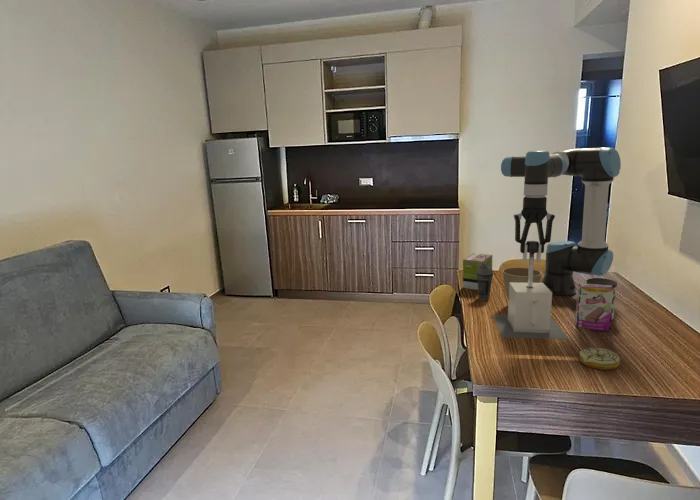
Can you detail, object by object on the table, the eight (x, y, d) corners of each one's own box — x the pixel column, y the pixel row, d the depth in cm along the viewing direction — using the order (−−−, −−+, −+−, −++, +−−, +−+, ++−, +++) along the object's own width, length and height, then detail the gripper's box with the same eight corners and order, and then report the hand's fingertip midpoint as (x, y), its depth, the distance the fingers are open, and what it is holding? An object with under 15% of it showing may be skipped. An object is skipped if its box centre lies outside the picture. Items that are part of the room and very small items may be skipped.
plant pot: (546, 312, 175) (549, 274, 172) (512, 316, 173) (514, 277, 169) (526, 301, 190) (528, 265, 186) (494, 303, 187) (496, 268, 184)
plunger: (539, 301, 162) (543, 239, 157) (546, 310, 153) (550, 244, 148) (512, 300, 164) (515, 239, 159) (518, 309, 155) (521, 244, 149)
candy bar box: (576, 329, 158) (579, 286, 155) (574, 324, 163) (577, 282, 159) (611, 332, 154) (615, 288, 151) (607, 327, 159) (612, 284, 156)
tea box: (473, 280, 223) (473, 252, 220) (492, 283, 217) (493, 254, 214) (462, 288, 211) (462, 258, 208) (482, 291, 205) (483, 261, 202)
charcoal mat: (550, 318, 169) (550, 315, 169) (569, 342, 148) (569, 339, 148) (492, 316, 173) (492, 314, 172) (502, 339, 152) (502, 337, 151)
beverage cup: (490, 295, 198) (491, 253, 194) (494, 301, 191) (495, 257, 187) (474, 295, 199) (475, 253, 194) (477, 301, 192) (478, 257, 187)
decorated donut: (576, 354, 139) (577, 343, 139) (614, 358, 136) (615, 347, 135) (581, 369, 130) (582, 357, 129) (622, 374, 126) (624, 362, 126)
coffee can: (583, 310, 177) (585, 276, 174) (612, 313, 172) (615, 279, 169) (584, 318, 168) (587, 284, 165) (615, 322, 163) (619, 286, 160)
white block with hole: (540, 320, 165) (542, 282, 162) (551, 336, 151) (554, 295, 147) (507, 319, 167) (509, 282, 164) (515, 335, 153) (517, 294, 149)
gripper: (557, 194, 152) (553, 259, 157) (507, 195, 155) (504, 259, 160) (564, 196, 145) (559, 264, 150) (511, 197, 148) (508, 264, 153)
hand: (531, 261), depth 155 cm, fingers closed on plunger, 4 cm apart
